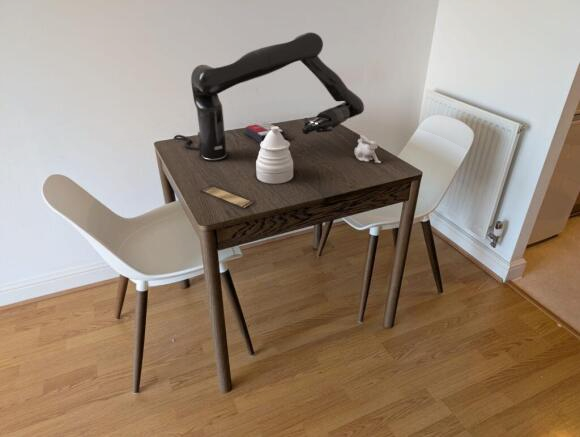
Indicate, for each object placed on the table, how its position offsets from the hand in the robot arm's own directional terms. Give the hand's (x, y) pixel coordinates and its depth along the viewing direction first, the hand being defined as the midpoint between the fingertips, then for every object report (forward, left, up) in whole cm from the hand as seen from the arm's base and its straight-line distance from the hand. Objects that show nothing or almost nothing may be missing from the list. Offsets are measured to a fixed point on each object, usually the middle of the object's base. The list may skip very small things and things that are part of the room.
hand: (304, 131), depth 155 cm
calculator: (-27, +9, -11) cm, 31 cm away
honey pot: (0, -17, -11) cm, 21 cm away
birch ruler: (-2, -39, -11) cm, 41 cm away
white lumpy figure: (+18, +14, -11) cm, 25 cm away
